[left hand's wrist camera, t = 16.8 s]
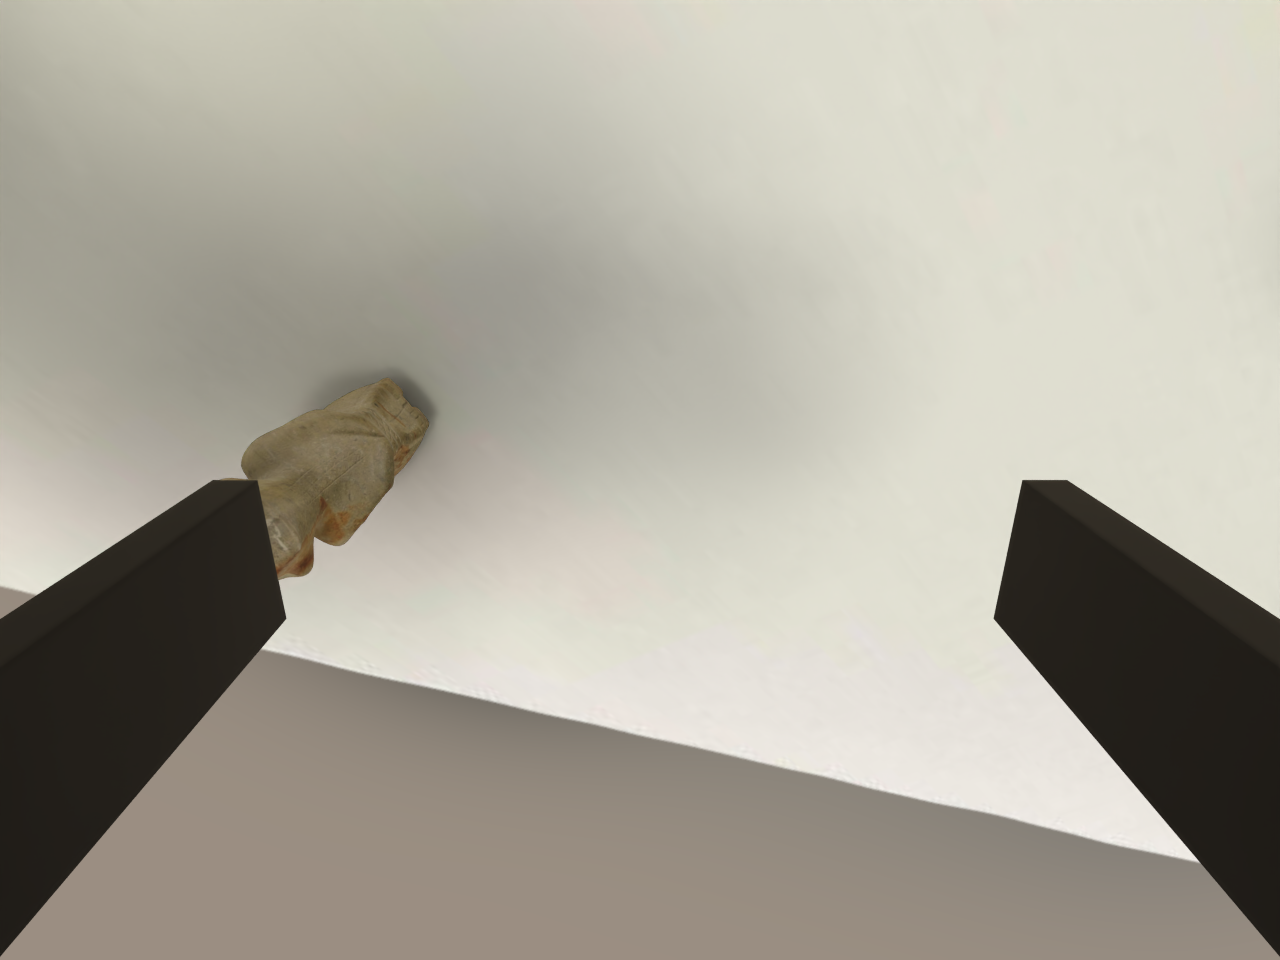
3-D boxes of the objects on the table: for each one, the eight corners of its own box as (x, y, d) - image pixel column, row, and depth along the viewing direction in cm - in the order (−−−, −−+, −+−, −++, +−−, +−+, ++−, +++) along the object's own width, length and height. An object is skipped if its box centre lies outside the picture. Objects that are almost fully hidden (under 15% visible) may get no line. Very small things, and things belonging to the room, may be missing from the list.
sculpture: (293, 422, 40) (107, 541, 26) (390, 348, 39) (248, 433, 25) (365, 501, 42) (226, 652, 28) (459, 434, 40) (364, 557, 26)
